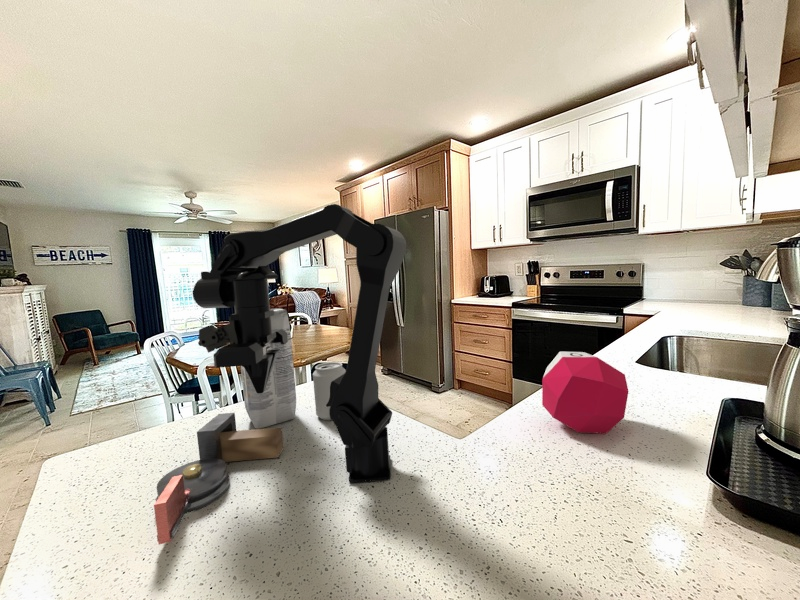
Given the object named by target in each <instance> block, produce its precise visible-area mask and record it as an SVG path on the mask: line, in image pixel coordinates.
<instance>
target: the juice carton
mask: <svg viewBox="0 0 800 600" xmlns="http://www.w3.org/2000/svg"><path fill="white" fill-rule="evenodd" d="M270 310H274V315H273V316H271V324H272V330H276V329H283V330H284V331H285V332H286V333H287V337H288V342H287V343H286V344H282V345H281V343H270V344H269V346H271V348H272V350H275V349H279V353H278V355H277V357H276V360H275V363H274V365H273V368H272V371H271V374H270V377H269V380H268V382H267V385H266V388H265V391H264V392H263V393H259V394H258V393H257V392H256V390H255V388H254V386H253V384H252V382H251V379H250V377H249V375H248V373H247V371H246V369H245V368H244V367H243V366H240V372H241V373H240V374H241V381H242V390H243V391H242V392H243V400H244V406H245V407H244V408H245V410H246V413H247V416H248V417H249V419H250V421H251V423H252V425H253V427H254V428H255V429H265V428H268V427H270V426H273V425H274V426H275V425H277V424H280V423H284V422H287V421H291V420H293V419H295V417H296V411H297V392H296V391H297V389H296V380H295V370H294V369H295V368H294V357H293V347H292V346H293V345H292V334H291V326H290V320H289V312H288V310H287V309H283V308H280V307H279V308H278V307H277V308H276V307H275V308H270Z"/></svg>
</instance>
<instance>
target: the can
mask: <svg viewBox="0 0 800 600" xmlns="http://www.w3.org/2000/svg"><path fill="white" fill-rule="evenodd" d="M314 369H315V370H314V371H313V373H312V381H313V392H314V403H315V404H314V405H315V414H316V416H317V417H319V419H321V420H323V421H332V420H331V419H330V415H329V409H330V406H329V407H327V406H326V404H327V403H328V401H329V398H330V385H331V382H332V381H333V380H335V379H336V378H338V377H340V376H341V375H343V374H344V373H345V372H346V369H345V368H344V367H343V363H342V362H339V361H329V362H324V363H319V364H317V365H316V366H315V367H314Z"/></svg>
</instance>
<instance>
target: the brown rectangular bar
mask: <svg viewBox="0 0 800 600" xmlns="http://www.w3.org/2000/svg"><path fill="white" fill-rule="evenodd" d="M283 434H284V433H283V426H280V427H279V426H277V427H269V428H268V427H265V428H261V429H256V428H255V429H254V428H253V429H244V430H236V431H229V432H220V440H221V450H222V459H223V461H224V462H225V463H229V462H240V461H249V460H250V461H253V460H260V459H262V460H264V459H274V458H279V456H280V455H281V453H282V452H283V449H284V448H285V443H284V435H283Z"/></svg>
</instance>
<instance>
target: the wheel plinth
mask: <svg viewBox="0 0 800 600" xmlns="http://www.w3.org/2000/svg"><path fill="white" fill-rule="evenodd" d="M230 484H231V480H230V475H229V472H228V471H227V479H226V481H225V482H224V484H223V485H222V486H221V487H220V488H218V489H217V490H216V491H214V492H213V493H211V494H210V495H208V496H206V497H204V498H202V499H200V500H197V501H194V502H191V503H190V505H189V507H188V509H187V511H186V513H185V515H186V514H189V513H193V512H195V511H198V510H200V509H203V508H205V507H207V506H209V505H211V504H212V503H214V502H215V501H217V500H218V499H220V498H221V497H222V496H223V495H224V494H225V493H226V492H227V490H228V489H229V488H230ZM157 500H158V495H157V496H156V498H155V502H156V501H157Z"/></svg>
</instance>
